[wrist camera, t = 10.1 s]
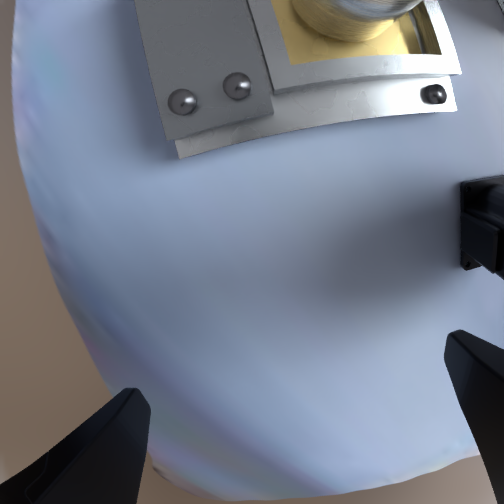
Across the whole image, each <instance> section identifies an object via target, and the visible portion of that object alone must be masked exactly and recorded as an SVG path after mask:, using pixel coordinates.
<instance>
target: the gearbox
mask: <svg viewBox="0 0 504 504" xmlns="http://www.w3.org/2000/svg"><path fill="white" fill-rule="evenodd" d="M134 2H135V8H136V13H137V18H138V23H139V27H140V32H141V37H142V41H143V46H144V51H145V55H146V59H147V64H148V68H149V72H150V77H151V81H152V85H153V89H154V93H155V97H156V101H157V105H158V109H159V113H160V117H161V121H162V125H163V128H164V132H165V136H166V140H167V141H175V145H176V149H177V152H178V156H179V159H182V158H186V157H189V156H193V155H196V154H199V153H203V152H206V151H210V150H214V149H217V148H221V147H225V146H229V145H233V144H237V143H241V142H245V141H249V140H253V139H257V138H262V137H266V136H270V135H275V134H280V133H284V132H289V131H294V130H299V129H305V128H310V127H315V126H321V125H327V124H333V123H339V122H346V121H352V120H359V119H367V118H375V117H383V116H392V115H402V114H413V113H426V112H442V111H457V110H456V105H455V100H454V95H453V90H452V86H451V82H450V78H449V77H450V76H454V75H458V74H462V73H461V69H460V66H459V62H458V58H457V55H456V51H455V48H454V45H453V42H452V39H451V36H450V33H449V30H448V27H447V24H446V21H445V18H444V16H443V13H442V11H441V8H440V6H439V3H438V1H437V0H423V1H421V2H420V3H419V4H417V5H416V6H415V7H413V8H412V9H411V10H410V11H408V12H407V13H406V14H404V15H403V16H402V17H401V18H399V19H398V20H397V21H396V22H394V23H393V24H392V25H391V26H389V27H388V28H387V29H386V30H384V31H383V32H382V33H381V34H380V35H378V36H376V37H375V38H372V39H370V40H366V41H361V42H346V41H340V40H336V39H333V38H330V37H327V36H325V35H323V34H321V33H319V32H317V31H316V30H314V29H313V28H311V27H310V26H309V25H308V24H307V23H306V22H305V21H304V20H303V19H302V18H301V17H300V16H299V15H298V13H297V11H296V10H295V8H294V5H293V3H292V0H134Z"/></svg>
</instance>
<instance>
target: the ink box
mask: <svg viewBox="0 0 504 504" xmlns="http://www.w3.org/2000/svg"><path fill="white" fill-rule="evenodd" d="M498 2H499V4H500V6H501V8H502V10H503V12H504V0H498Z"/></svg>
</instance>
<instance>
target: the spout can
mask: <svg viewBox="0 0 504 504" xmlns="http://www.w3.org/2000/svg"><path fill="white" fill-rule="evenodd" d="M421 1H423V0H292V3H293V5H294V8H295V10H296V11H297V13H298V15H299V16H300V17H301V18H302V19H303V20H304V21H305V22H306V23H307V24H308V25H309V26H310V27H311V28H313V29H314V30H316V31H317V32H319V33H321V34H323V35H325V36H327V37H330V38H333V39H336V40H340V41H346V42H361V41H366V40H370V39H372V38H375V37H376V36H378V35H380V34H381V33H382V32H383V31H384V30H386V29H387V28H388V27H389V26H391V25H392V24H393V23H394V22H396V21H397V20H398V19H399V18H401V17H402V16H403V15H404V14H406V13H407V12H408V11H410V10H411V9H412V8H413V7H415V6H416V5H417V4H419V3H420V2H421Z"/></svg>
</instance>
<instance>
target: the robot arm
mask: <svg viewBox="0 0 504 504" xmlns="http://www.w3.org/2000/svg"><path fill="white" fill-rule="evenodd" d="M467 186H468V191H467V192H466V188H467ZM460 196H461V244H460V248H461V261H460V265H461V267H462V268H463V269H464V270H466V271H467V270H471V269H474V268H477V267H480V266H483V267H485V268H486V269H487V270H488V271H490V272H491V273H493V274H494V273H496V274H497V275H498V276H499V277H501V278H502V279H503V280H504V175H502V176H495V177H489V178H482V179H476V180H470V181H465V182H463V183H462V184H461V186H460ZM467 262H468V263H467ZM466 263H467V265H466ZM444 361H445V364H446V367H447V370H448V372H449V375H450V378H451V381H452V384H453V387H454V390H455V393H456V396H457V399H458V401H459V404H460V407H461V409H462V411H463V414H464V416H465V418H466V420H467V423H468V425H469V427H470V429H471V432H472V434H473V437H474V439H475V441H476V444H477V446H478V449H479V452H480V454H481V457H482V459H483V462H484V465H485V467H486V470H487V473H488V476H489V479H490V482H491V485H492V488H493V491H494V494H495V497H496V500H497V504H504V349H501V348H499V347H497V346H495V345H493V344H491V343H489V342H487V341H485V340H483V339H481V338H478V337H476V336H474V335H472V334H470V333H468V332H466V331H464V330H456V331H454V332H451V333H449V334H448V336H447V340H446V346H445V352H444ZM150 415H151V409H150V405H149V404H148V402H147V401H146V399H145V398H144V396H143V394H142V393H141V391H140V390H139V389H138V388H125V389H123V390H122V391H121V392H120V393H119V394H117V395H116V396H115V397H114V398H113V399H111V400H110V401H109V402H108V403H107V404H105V405H104V406H103V407H102V408H100V409H99V410H98V411H97V412H96V413H94V414H93V415H92V416H91V417H90V418H88V419H87V420H86V421H85V422H83V423H82V424H81V425H80V426H79V427H77V428H76V429H75V430H74V431H72V432H71V433H70V434H69V435H67V436H66V437H65V438H64V439H63V440H61V441H60V442H59V443H58V444H56V445H55V446H54V447H53V448H51V449H50V450H49V452H47V453H45V454H44V455H43V456H41V457H40V458H39V459H37V460H36V461H35V462H33V463H32V464H31V465H29V466H28V467H27V468H25V469H24V470H22V471H20V472H19V473H17V474H16V475H14V476H13V477H11V478H10V479H8V480H7V481H5V482H3V483H2V484H0V504H136V503H137V498H138V492H139V487H140V481H141V477H142V472H143V467H144V462H145V457H146V451H147V443H148V433H149V424H150Z"/></svg>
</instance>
